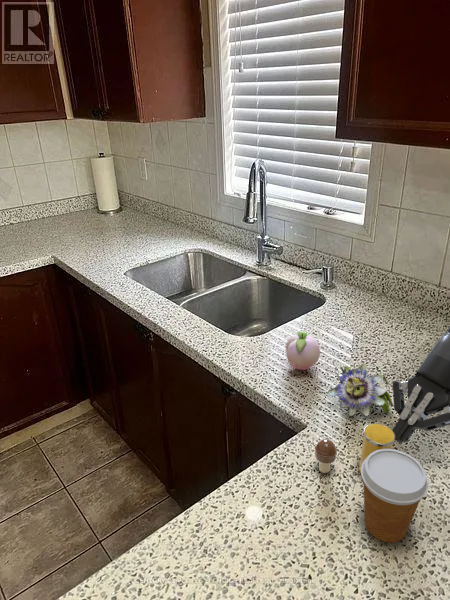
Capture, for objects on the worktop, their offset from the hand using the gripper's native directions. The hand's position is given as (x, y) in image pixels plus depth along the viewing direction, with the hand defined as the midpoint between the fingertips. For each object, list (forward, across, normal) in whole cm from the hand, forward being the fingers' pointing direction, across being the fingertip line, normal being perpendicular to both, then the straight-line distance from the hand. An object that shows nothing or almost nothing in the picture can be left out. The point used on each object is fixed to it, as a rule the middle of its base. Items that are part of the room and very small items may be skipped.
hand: (396, 440), depth 82 cm
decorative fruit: (0, +32, -8) cm, 33 cm away
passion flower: (-1, +14, -8) cm, 17 cm away
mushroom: (+12, +5, +5) cm, 14 cm away
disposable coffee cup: (+12, -9, +5) cm, 16 cm away
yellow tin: (+7, 0, 0) cm, 7 cm away
